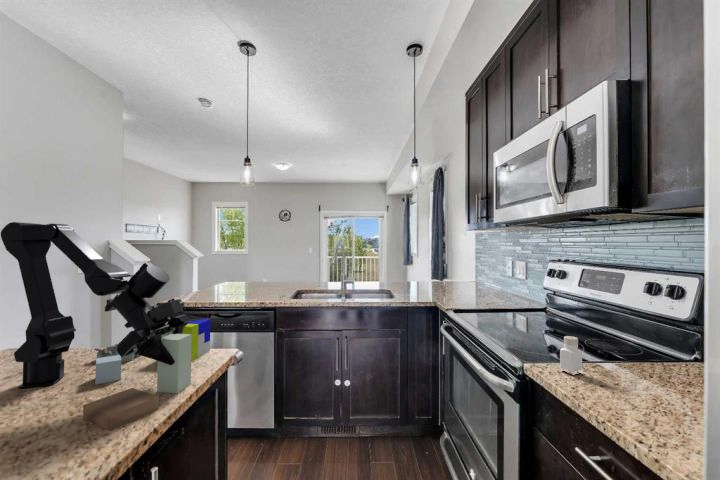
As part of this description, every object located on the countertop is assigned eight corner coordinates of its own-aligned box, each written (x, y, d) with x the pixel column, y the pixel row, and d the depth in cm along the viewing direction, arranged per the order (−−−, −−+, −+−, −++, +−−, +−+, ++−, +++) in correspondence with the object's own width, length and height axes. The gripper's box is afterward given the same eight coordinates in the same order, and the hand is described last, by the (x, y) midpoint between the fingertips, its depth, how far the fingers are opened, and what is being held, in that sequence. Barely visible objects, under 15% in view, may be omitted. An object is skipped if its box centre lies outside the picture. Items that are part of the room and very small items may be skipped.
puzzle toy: (209, 350, 108) (210, 319, 108) (191, 361, 98) (191, 326, 98) (180, 349, 109) (181, 318, 109) (159, 359, 99) (159, 325, 99)
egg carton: (91, 363, 96) (91, 348, 96) (111, 354, 104) (111, 341, 104) (127, 363, 96) (128, 349, 96) (145, 355, 103) (145, 341, 104)
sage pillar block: (156, 392, 77) (158, 339, 77) (171, 383, 82) (172, 333, 82) (177, 393, 76) (178, 339, 77) (190, 384, 81) (191, 334, 82)
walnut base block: (82, 420, 65) (83, 405, 65) (131, 401, 73) (132, 387, 73) (109, 432, 61) (110, 415, 61) (158, 411, 69) (158, 396, 69)
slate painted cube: (95, 384, 81) (95, 363, 81) (95, 378, 85) (96, 358, 85) (120, 380, 84) (121, 359, 84) (119, 374, 88) (120, 354, 88)
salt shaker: (573, 376, 88) (573, 340, 89) (559, 371, 92) (559, 336, 92) (583, 374, 90) (583, 338, 90) (568, 369, 94) (568, 335, 94)
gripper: (130, 293, 71) (179, 348, 69) (184, 283, 89) (223, 326, 88) (94, 330, 71) (142, 385, 70) (155, 313, 90) (194, 356, 89)
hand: (180, 359), depth 79 cm, fingers closed on sage pillar block, 5 cm apart
